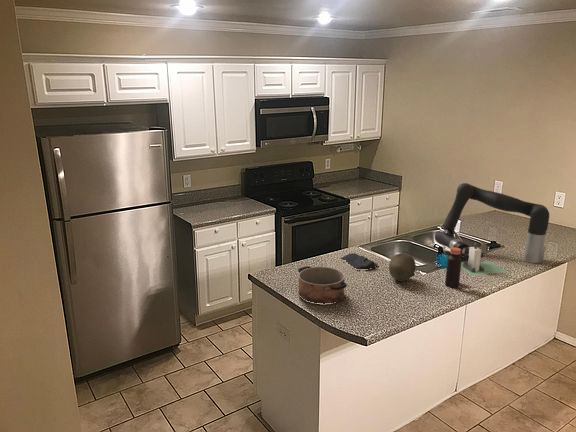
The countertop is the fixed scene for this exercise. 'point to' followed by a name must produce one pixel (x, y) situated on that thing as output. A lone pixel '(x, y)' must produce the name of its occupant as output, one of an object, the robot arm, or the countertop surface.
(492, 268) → the board
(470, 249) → the plug
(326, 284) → the cooking pot
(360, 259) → the dark blue flat piece
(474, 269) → the header
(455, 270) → the bottle
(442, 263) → the gear
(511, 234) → the countertop surface
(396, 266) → the cantaloupe
